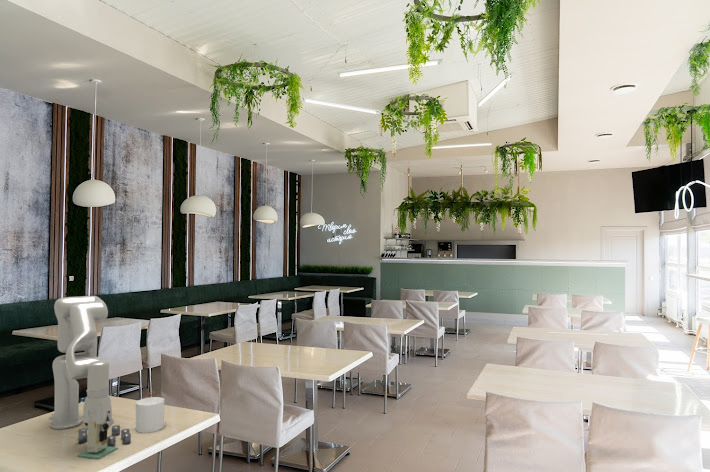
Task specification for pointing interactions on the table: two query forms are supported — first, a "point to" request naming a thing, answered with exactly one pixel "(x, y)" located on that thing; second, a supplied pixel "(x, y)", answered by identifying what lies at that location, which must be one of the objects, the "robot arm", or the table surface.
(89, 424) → the skincare box
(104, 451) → the coaster
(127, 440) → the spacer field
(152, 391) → the brown wooden carved piece
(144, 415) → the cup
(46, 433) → the table surface
